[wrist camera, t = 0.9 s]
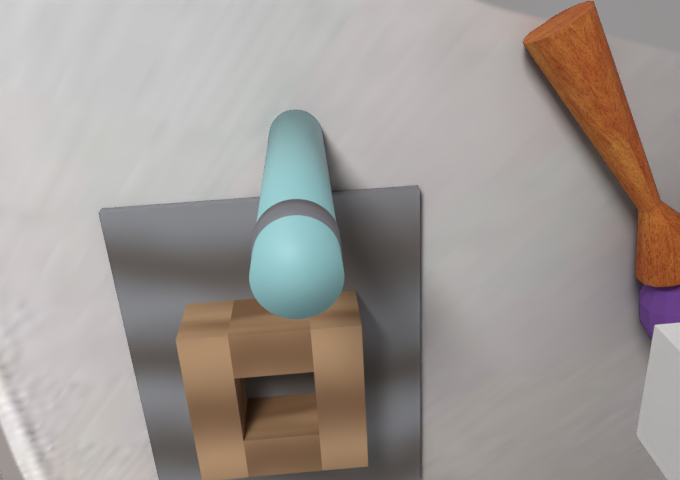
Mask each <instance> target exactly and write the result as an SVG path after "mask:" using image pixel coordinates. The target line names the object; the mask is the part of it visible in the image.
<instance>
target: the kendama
mask: <svg viewBox="0 0 680 480" xmlns="http://www.w3.org/2000/svg"><path fill="white" fill-rule="evenodd" d="M523 44H524V46H525V47H526V49H527V50H528V52H529V53H530V54H531V56H532V57H533V59H534V60H535V62H536V63H537V65H538V66H539V67H540V69H541V70H542V72H543V73H544V75H545V76H546V78H547V79H548V80H549V82H550V83H551V85H552V86H553V88H554V89H555V91H556V92H557V93H558V95H559V96H560V98H561V99H562V101H563V102H564V104H565V105H566V106H567V108H568V109H569V111H570V112H571V114H572V115H573V117H574V118H575V119H576V121H577V122H578V124H579V125H580V127H581V128H582V129H583V131H584V132H585V134H586V135H587V137H588V138H589V140H590V141H591V142H592V144H593V145H594V147H595V148H596V150H597V151H598V153H599V154H600V155H601V157H602V158H603V160H604V161H605V163H606V164H607V166H608V167H609V168H610V170H611V171H612V173H613V174H614V176H615V177H616V179H617V180H618V181H619V183H620V184H621V186H622V187H623V189H624V190H625V192H626V193H627V194H628V196H629V197H630V199H631V200H632V202H633V203H634V205H635V206H636V207H637V209H638V226H637V243H636V260H635V273H636V278H637V279H638V280H639V281H641V282H642V283H643V285H642V287H641V289H640V291H639V314H640V322H641V324H642V326H643V327H644V329H645V331H646V333H647V335H648V336H649V338H650V339H651V340H652V338H653V332H654V326H655V325H659V324H670V323H680V214H679V213H678V212H676V211H675V210H674V209H672V208H671V207H669V206H668V205H666V204H665V203H664V202H662V201H661V200H660V197H659V194H658V191H657V188H656V185H655V182H654V179H653V176H652V173H651V170H650V167H649V164H648V161H647V158H646V155H645V152H644V149H643V146H642V143H641V140H640V137H639V134H638V131H637V128H636V126H635V123H634V120H633V117H632V114H631V111H630V108H629V105H628V102H627V99H626V96H625V93H624V90H623V87H622V84H621V81H620V78H619V75H618V72H617V69H616V66H615V63H614V60H613V57H612V54H611V51H610V48H609V45H608V42H607V39H606V36H605V33H604V31H603V28H602V25H601V22H600V19H599V16H598V13H597V10H596V7H595V4H594V1H586V2H583V3H580V4H577V5H575V6H573V7H571V8H569V9H566V10H564V11H562V12H561V13H559V14H557V15H555V16H553V17H552V18H550V19H549V20H547V22H546V23H544V24H543V25H541V26H539V27H538V28H536V29H535V30H533V31H532V32H530V33H529V34H528V35H527V36H526V37H525V38H524V40H523Z"/></svg>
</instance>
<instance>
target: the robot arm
mask: <svg viewBox="0 0 680 480" xmlns="http://www.w3.org/2000/svg"><path fill="white" fill-rule="evenodd" d="M636 436H637V437H638V439H639V440H640V441H641V443H642V444H643V446H644V447H645V449H646V450H647V451H648V453H649V454H650V456H651V457H652V459H653V460H654V461H655V463H656V464H657V466H658V467H659V469H660V470H661V471H662V473H663V474H664V476H665V477H666V478H667V480H680V323H670V324H659V325H655V326H654V332H653V338H652V344H651V350H650V356H649V362H648V368H647V374H646V380H645V386H644V392H643V398H642V404H641V410H640V416H639V422H638V428H637V434H636ZM0 480H4V479H3V477H2V474H1V471H0Z"/></svg>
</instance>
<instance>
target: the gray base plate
mask: <svg viewBox="0 0 680 480" xmlns="http://www.w3.org/2000/svg"><path fill="white" fill-rule="evenodd" d="M332 198H333V205H334V211H335V217H336V223H337V225H338V228H339V232H340V239H341V245H342V252H343V259H342V262H343V268H344V285H343V288H342V291H341V293H340V295H339V297H338V299H337V300H336V301H335V303H334V304H333V305H332V306H331V307H330V308H328V309H327V310H326V311H324V312H322V313H320V314H319V315H316V316H314V317H310V318H306V319H287V318H283V317H280V316H277V315H275V314H272V313H271V312H269V311H267V310H266V309H265V308H264V307H262V306H261V305H260V303H259V302H258V301H257V300H256V298H255V297H254V295H253V293H252V290H251V287H250V282H249V273H250V265H251V246H252V239H253V233H254V228H255V226H256V223H257V216H258V209H259V202H260V197H252V198H238V199H224V200H211V201H197V202H183V203H169V204H156V205H142V206H128V207H115V208H102V209H101V210H100V211H99V217H100V222H101V226H102V231H103V235H104V240H105V244H106V248H107V253H108V257H109V262H110V266H111V270H112V275H113V279H114V284H115V288H116V293H117V297H118V301H119V306H120V310H121V315H122V319H123V323H124V328H125V332H126V337H127V341H128V346H129V350H130V354H131V359H132V363H133V368H134V372H135V376H136V381H137V385H138V390H139V394H140V399H141V403H142V407H143V412H144V416H145V421H146V425H147V429H148V434H149V438H150V443H151V447H152V451H153V456H154V460H155V465H156V469H157V474H158V478H159V480H420V188H419V187H418V185H416V186H403V187H389V188H375V189H362V190H348V191H334V192H332Z"/></svg>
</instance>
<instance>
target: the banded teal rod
mask: <svg viewBox="0 0 680 480" xmlns="http://www.w3.org/2000/svg"><path fill="white" fill-rule="evenodd" d="M342 259H343V252H342V245H341V239H340V232H339V228H338V225H337V223H336V217H335V211H334V205H333V198H332V192H331V185H330V179H329V173H328V166H327V160H326V153H325V147H324V141H323V134H322V129H321V126H320V124H319V122H318V121H317V120H316V118H315V117H314V116H312V115H311V114H309V113H308V112H305V111H302V110H289V111H286V112H283V113H282V114H280V115H279V116H278V117H277V118H276V119H275V120H274V121H273V123H272V125H271V127H270V131H269V138H268V145H267V152H266V159H265V167H264V174H263V181H262V188H261V195H260V202H259V209H258V216H257V223H256V226H255V228H254V233H253V239H252V246H251V265H250V273H249V282H250V287H251V290H252V293H253V295H254V297H255V298H256V300H257V301H258V302H259V303H260V305H261V306H262V307H264V308H265V309H266V310H267V311H269V312H271V313H272V314H275V315H277V316H280V317H283V318H287V319H306V318H310V317H314V316H316V315H319V314H320V313H322V312H324V311H326V310H327V309H328V308H330V307H331V306H332V305H333V304H334V303H335V301H336V300H337V299H338V297H339V295H340V293H341V291H342V288H343V285H344V268H343V262H342Z"/></svg>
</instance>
